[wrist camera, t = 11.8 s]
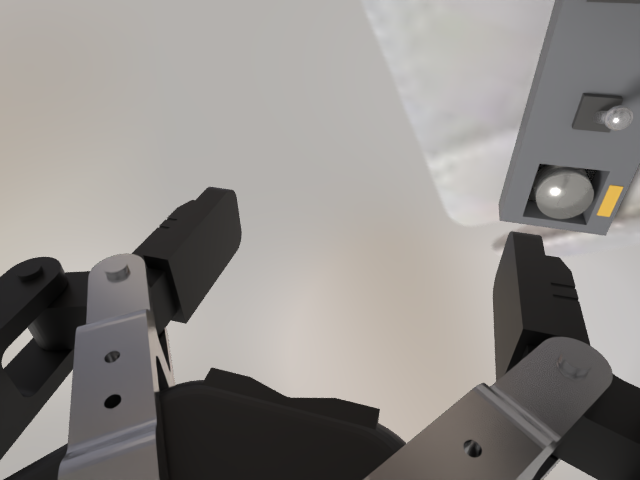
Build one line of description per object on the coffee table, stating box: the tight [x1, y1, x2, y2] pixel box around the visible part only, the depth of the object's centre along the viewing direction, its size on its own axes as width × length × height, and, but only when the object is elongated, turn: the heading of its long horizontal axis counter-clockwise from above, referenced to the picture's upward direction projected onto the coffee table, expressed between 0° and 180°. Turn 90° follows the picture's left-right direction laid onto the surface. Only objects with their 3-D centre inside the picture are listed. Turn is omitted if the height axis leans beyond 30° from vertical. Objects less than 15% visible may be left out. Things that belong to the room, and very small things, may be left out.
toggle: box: [593, 105, 633, 130], centre depth 31 cm, size 2×2×4 cm
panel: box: [499, 0, 640, 236], centre depth 35 cm, size 22×9×4 cm, turn 0°
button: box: [533, 165, 594, 219], centre depth 39 cm, size 4×4×3 cm
